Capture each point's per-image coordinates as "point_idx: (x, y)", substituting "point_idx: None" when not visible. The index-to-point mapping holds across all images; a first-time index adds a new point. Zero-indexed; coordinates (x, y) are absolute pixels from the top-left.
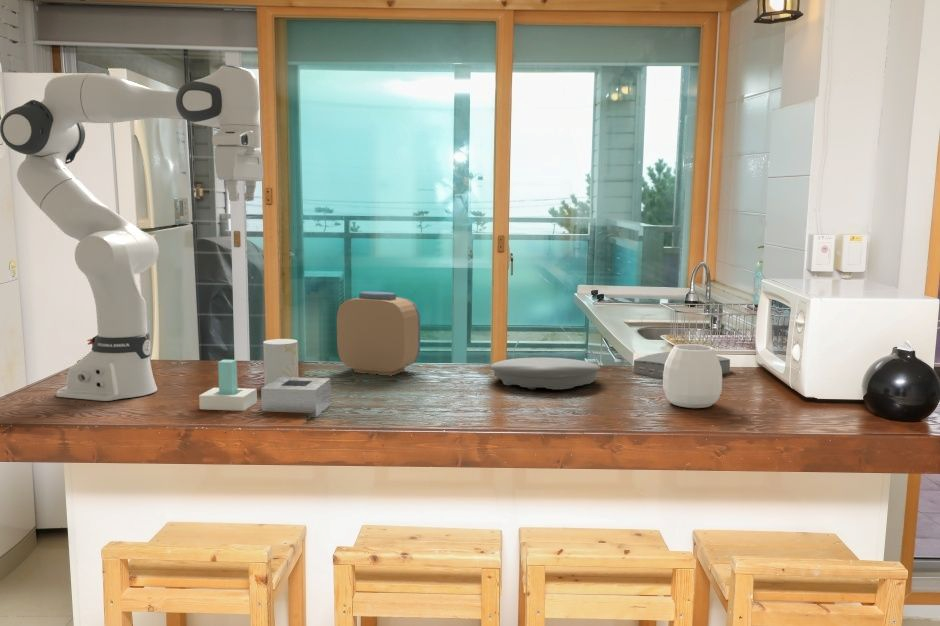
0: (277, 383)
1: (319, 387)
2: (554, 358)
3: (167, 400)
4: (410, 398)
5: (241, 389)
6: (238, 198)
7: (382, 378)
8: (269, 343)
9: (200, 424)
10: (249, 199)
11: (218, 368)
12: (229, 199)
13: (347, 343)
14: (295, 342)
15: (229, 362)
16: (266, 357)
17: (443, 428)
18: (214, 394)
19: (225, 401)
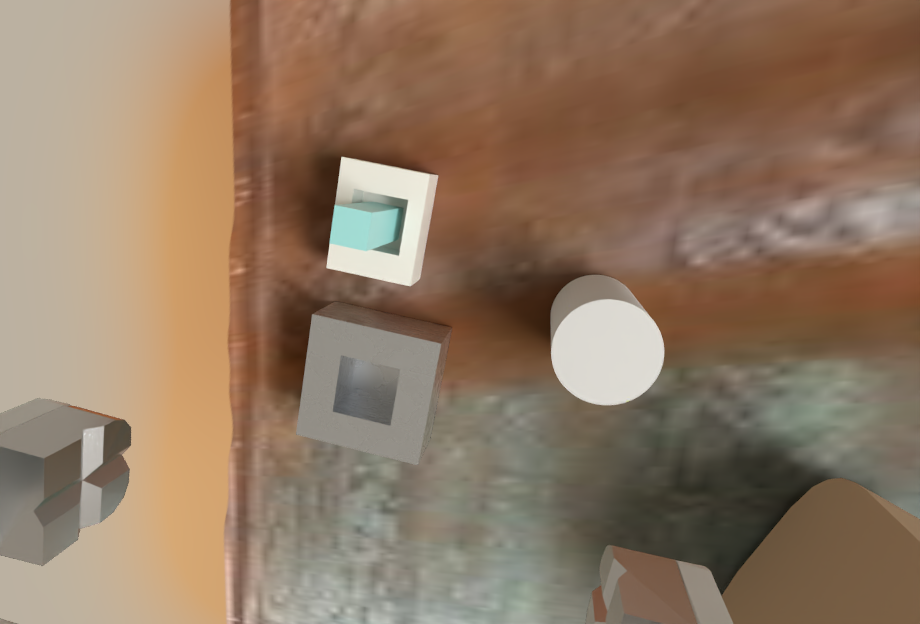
0: (364, 346)
1: (327, 441)
2: None
3: (494, 36)
4: (474, 596)
5: (404, 250)
6: (87, 515)
7: (704, 558)
8: (570, 322)
9: (266, 182)
10: (588, 611)
11: (340, 204)
12: (39, 403)
13: (846, 526)
14: (584, 400)
15: (330, 237)
16: (569, 302)
17: (246, 620)
18: (351, 193)
19: None
